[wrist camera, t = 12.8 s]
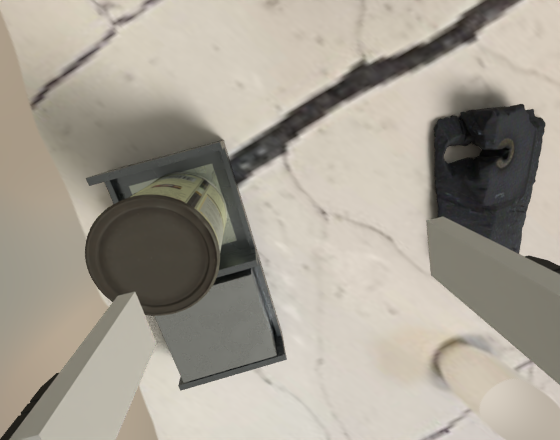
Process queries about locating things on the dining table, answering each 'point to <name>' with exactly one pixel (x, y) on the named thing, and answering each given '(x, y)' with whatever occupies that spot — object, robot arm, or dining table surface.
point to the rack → (227, 287)
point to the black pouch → (489, 171)
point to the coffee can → (160, 244)
